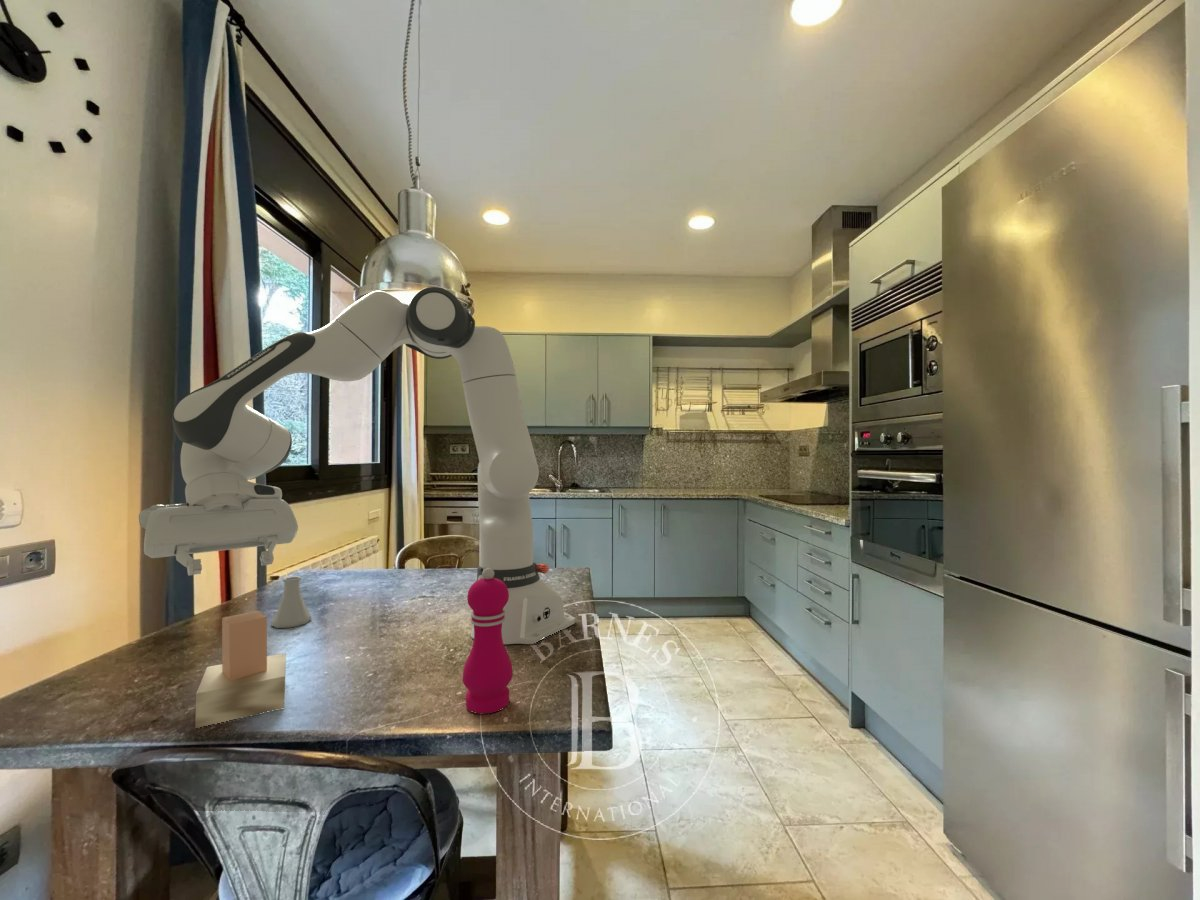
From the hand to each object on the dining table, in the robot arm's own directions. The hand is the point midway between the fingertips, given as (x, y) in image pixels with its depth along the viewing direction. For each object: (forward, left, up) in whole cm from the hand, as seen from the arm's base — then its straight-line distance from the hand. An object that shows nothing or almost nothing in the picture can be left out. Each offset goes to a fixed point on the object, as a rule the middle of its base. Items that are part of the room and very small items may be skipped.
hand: (233, 567), depth 78 cm
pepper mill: (-24, +35, -19) cm, 46 cm away
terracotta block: (0, +8, -14) cm, 16 cm away
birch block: (0, +8, -19) cm, 21 cm away
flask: (-16, -27, -19) cm, 37 cm away
